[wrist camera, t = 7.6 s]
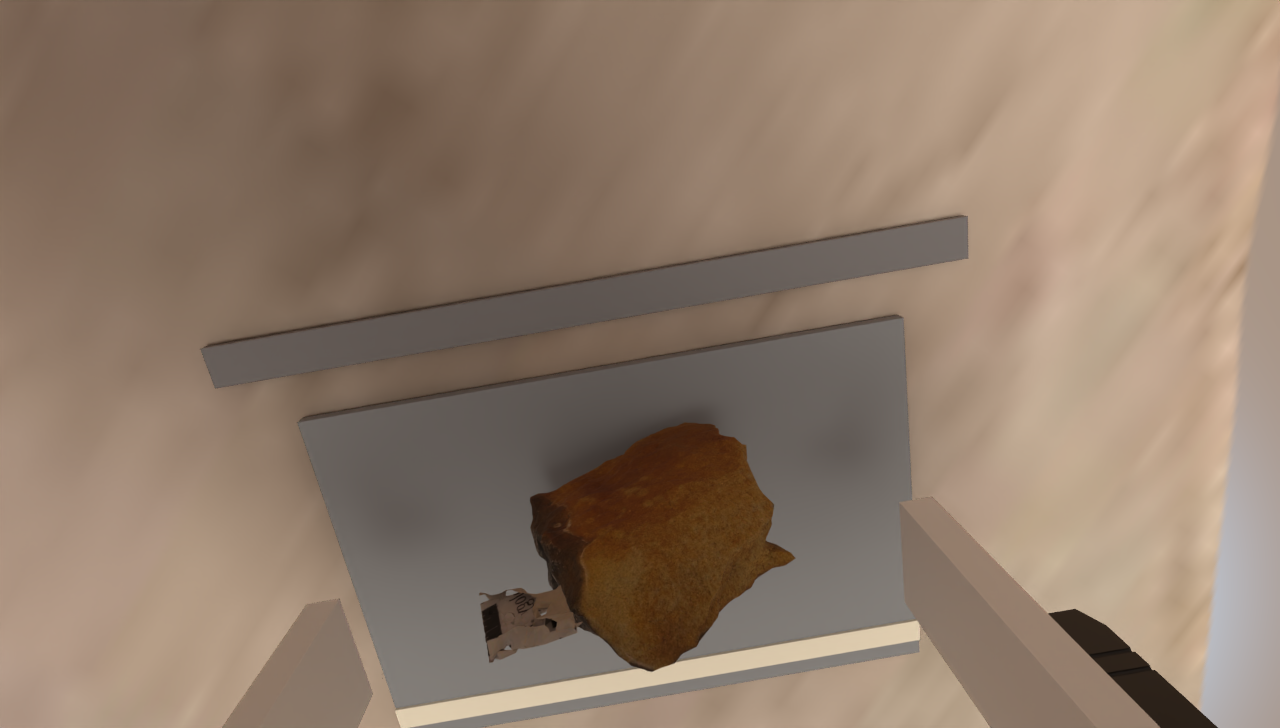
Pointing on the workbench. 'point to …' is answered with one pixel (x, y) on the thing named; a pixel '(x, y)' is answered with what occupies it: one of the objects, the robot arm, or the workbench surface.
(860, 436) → the mat
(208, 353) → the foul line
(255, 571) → the workbench surface
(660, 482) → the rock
